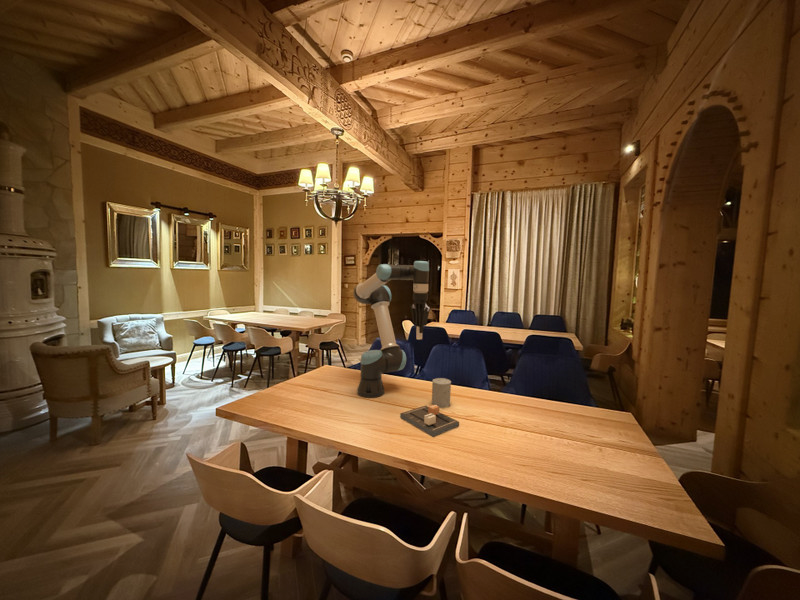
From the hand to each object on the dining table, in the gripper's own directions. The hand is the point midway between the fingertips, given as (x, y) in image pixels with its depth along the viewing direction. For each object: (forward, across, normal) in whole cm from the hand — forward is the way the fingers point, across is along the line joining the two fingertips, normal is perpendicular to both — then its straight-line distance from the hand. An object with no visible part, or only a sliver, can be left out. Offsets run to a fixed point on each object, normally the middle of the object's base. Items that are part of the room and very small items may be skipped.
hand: (419, 339), depth 162 cm
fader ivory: (+32, +22, -12) cm, 40 cm away
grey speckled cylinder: (+35, +6, +11) cm, 37 cm away
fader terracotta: (+32, +16, -4) cm, 36 cm away
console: (+34, +17, -8) cm, 39 cm away
